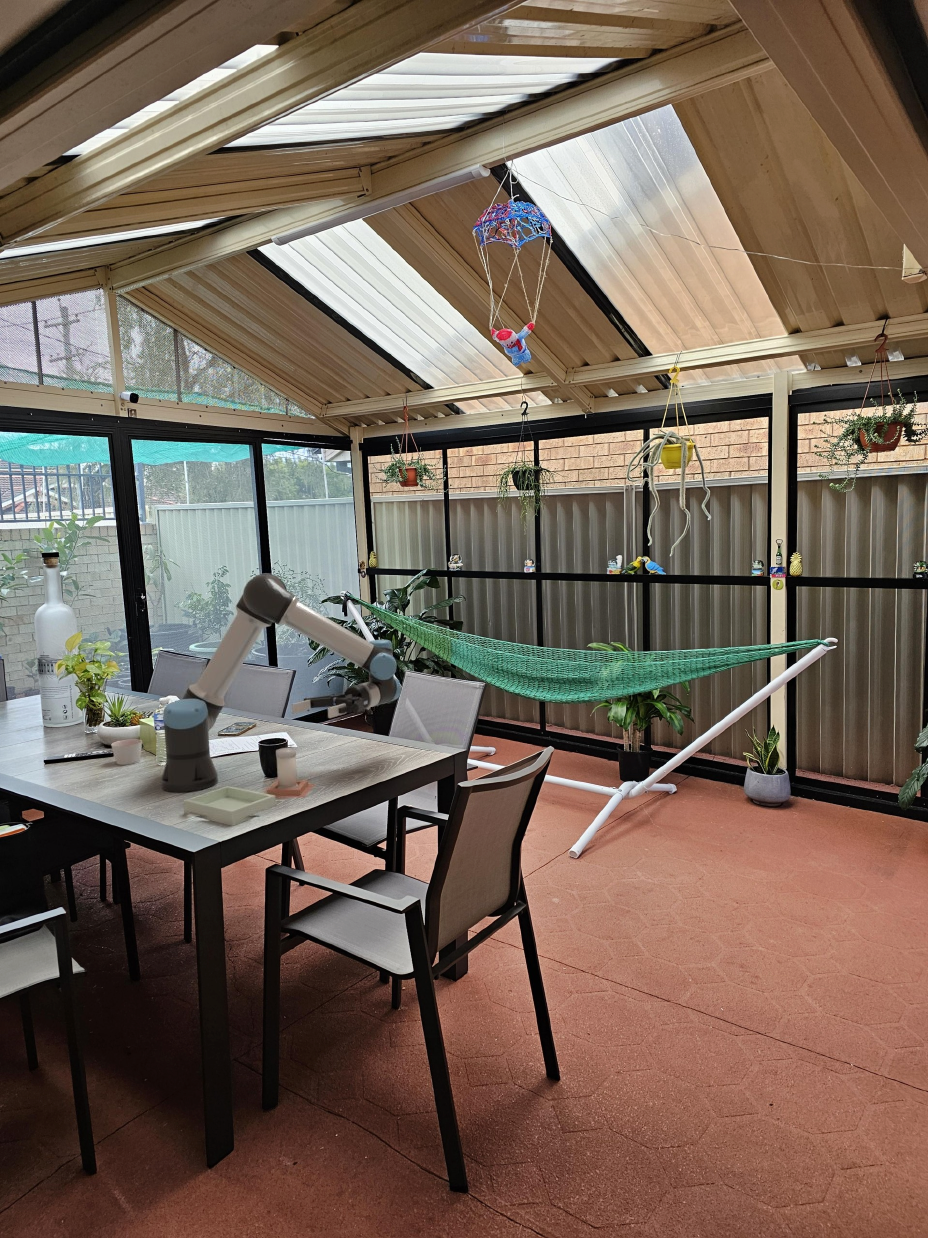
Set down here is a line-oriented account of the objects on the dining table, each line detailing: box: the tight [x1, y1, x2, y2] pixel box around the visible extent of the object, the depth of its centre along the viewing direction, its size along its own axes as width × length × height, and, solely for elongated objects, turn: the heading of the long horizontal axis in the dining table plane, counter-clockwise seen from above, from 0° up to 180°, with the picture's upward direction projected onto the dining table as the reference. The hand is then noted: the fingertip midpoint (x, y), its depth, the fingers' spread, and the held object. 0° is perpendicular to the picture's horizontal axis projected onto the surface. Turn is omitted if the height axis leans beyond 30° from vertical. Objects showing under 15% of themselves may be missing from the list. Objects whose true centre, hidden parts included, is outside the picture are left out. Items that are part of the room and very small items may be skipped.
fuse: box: [275, 747, 298, 788], centre depth 224 cm, size 5×5×11 cm
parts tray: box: [183, 785, 277, 826], centre depth 211 cm, size 18×14×4 cm
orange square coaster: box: [263, 779, 316, 799], centre depth 225 cm, size 12×12×2 cm
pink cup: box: [110, 738, 143, 766], centre depth 263 cm, size 9×9×6 cm
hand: (310, 711), depth 231 cm, fingers open, 13 cm apart
